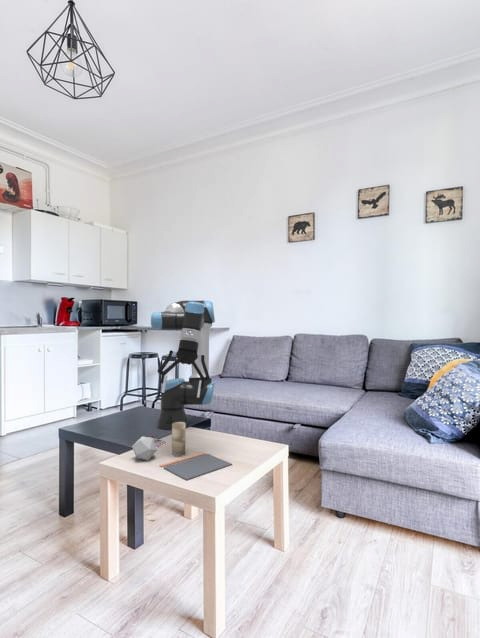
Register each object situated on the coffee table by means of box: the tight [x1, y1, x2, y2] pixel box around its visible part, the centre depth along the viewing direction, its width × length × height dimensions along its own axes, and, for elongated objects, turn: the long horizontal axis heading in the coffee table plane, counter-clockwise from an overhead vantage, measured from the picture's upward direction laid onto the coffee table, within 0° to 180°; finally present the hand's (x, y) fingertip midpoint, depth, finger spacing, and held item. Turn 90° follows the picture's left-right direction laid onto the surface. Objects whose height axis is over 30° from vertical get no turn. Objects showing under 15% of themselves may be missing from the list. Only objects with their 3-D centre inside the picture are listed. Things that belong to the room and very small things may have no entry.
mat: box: [163, 453, 233, 482], centre depth 132 cm, size 20×14×1 cm
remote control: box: [150, 435, 168, 448], centre depth 158 cm, size 7×16×3 cm, turn 58°
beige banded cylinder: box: [171, 422, 187, 458], centre depth 144 cm, size 5×5×12 cm
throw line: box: [159, 452, 207, 468], centre depth 138 cm, size 20×2×1 cm, turn 133°
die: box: [132, 436, 158, 461], centre depth 140 cm, size 8×9×10 cm
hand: (180, 395), depth 142 cm, fingers open, 13 cm apart
